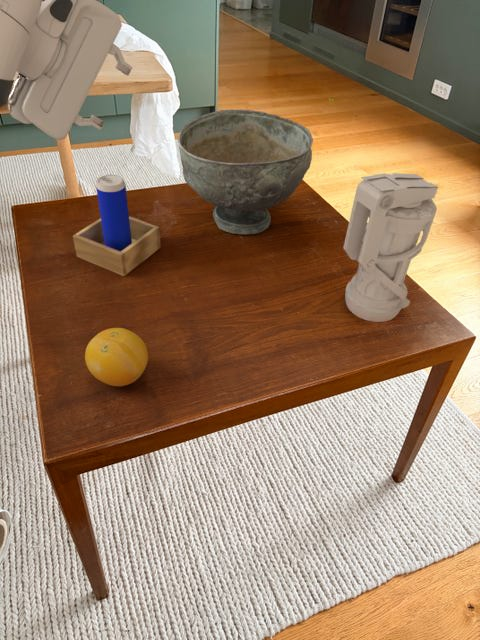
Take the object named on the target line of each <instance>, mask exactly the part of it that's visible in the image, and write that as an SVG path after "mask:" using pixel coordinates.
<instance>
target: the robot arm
mask: <svg viewBox="0 0 480 640" xmlns="http://www.w3.org/2000/svg"><path fill="white" fill-rule="evenodd" d="M122 27H123V24H122V21H121V18H120V16H119V14H117V13H116V12H115V11H113V10H112V9H110V7H108V6H106V5H104V4H103V3H101V2H99V1H98V0H0V109H1V108H3V107H6V106H7V111H8V113H9V115H10V116H11V118H13V119H14V120H16V121H17V122H20V123H22V124H24V125H34V126H35V127H37V128H38V129H39V130H41V131H42V132H43V133H44V134H46V135H48V136H49V137H51V138H53V139H55V140H56V141H60V140H65V139H67V136H68V135H69V133H70V131H71V129H72V126H73V124H75V125H76V126H78V127H91V126H93V127H94V128H96V129H97V130H98V131H101V130H102V127H103V126H104V124H105V121H104V120H102V119H101V118H99V117H97V116H96V115H95V114H90V117H88V118H86V117H82V116H81V115H79V113H80V110H81V109H82V107H83V106H84V105H83V104H84V102H85V100H86V98H87V96H88V95H89V93H90V91H91V89H92V87H93V85H94V82H95V80H96V79H97V77H98V75H99V73H100V70H101V69H102V66H103V65H104V63H105V61H106V59H107V57H108V55H111V56H114V59H115V61H116V63H117V64H116V66H115V69H116V70H118V71H120V73H122V74H124V75H125V76H129V75H130V74H131V72H132V69H133V66H131V64H129V63H127V61H125V58H124V56H123V53H122V52H121V49H120V47H118V46H117V45H116V44H115V41H116V39H117V37H118V35H119V33H120V31H121V29H122ZM17 73H18V75H17V76H16V74H17ZM15 76H16V79H15ZM14 79H15V80H14Z"/></svg>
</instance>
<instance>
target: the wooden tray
mask: <svg viewBox="0 0 480 640" xmlns="http://www.w3.org/2000/svg"><path fill="white" fill-rule="evenodd" d="M129 221H130V230H131V239H132V244H131V245H129V246H128V247H126V248H125V249H124V250H122V251H121V252H120V251H118V250H115V249H113V248H110V247H107V246H105V242H104V235H103V228H102V222H101V217H100V218H99V219H97V220H95V221H94V222H92V223H91V224H89V225H87V226H86V227H84V228H83V229H81V230H79V231H78V232H77V233H75V234H73V235H72V240H73V243H74V250H75V254H76V257H77V258H79V259H81V260H83V261H86V262H88V263H90V264H93V265H96V266H98V267H100V268H103V269H105V270H108V271H111V272H112V273H115V274H118V275H120V276H122V277H126V276H127V275H128V274H130V273H131V271H132V270H134V269H135V268H136V267H138V266H140V264H142V263H143V262H144V261H145V260H147V259H148V258H150V256H152V255H154V253H156V252H157V251H158V250H159V249H161V248H162V247H161V234H160V233H161V232H160V226H157V225H155V224H152V223H149V222H147V221H143V220H141V219H138V218H135V217H133V216H130V215H129Z"/></svg>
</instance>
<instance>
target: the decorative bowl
mask: <svg viewBox="0 0 480 640" xmlns="http://www.w3.org/2000/svg"><path fill="white" fill-rule="evenodd" d="M177 143H178V150H179V156H180V161H181V165H182V175H183V179H184V182H185V183H186V184H187V185H188V186H189V187H190V188H191V189H192V190H193V191H194V192H195V193H196V194H197V195H199V196H200V198H202V199H203V200H204V201H206V202H207V203H209V204H211V205H213V206H215V207H214V209H213V211H212V216H213V220H214V222H215V224H216V226H217V227H218V229H219V230H222V231H224V232H226V233H230V234H236V235H255V234H259V233H261V232H264V231H265V230H267V229H268V228H269V226H270V225H271V219H272V217H271V215H270V211H269V210H268V209H269V208H272V207H275V206H277V205H280V204H281V203H283V202H285V201H286V200H288V199H289V198H290V197H291V196H292V194H294V193H295V191H296V189H297V188H298V187H299V186H300V184H301V183H302V180H304V177H305V175H306V174H307V172H308V170H309V169H310V167H311V164H312V159H313V150H312V146H313V143H314V138H313V135H312V133H311V132H310V129H308V128H307V127H306V126H304V125H302V124H300V123H299V122H297V121H293V120H291V119H289V118H286V117H285V118H284V117H281V116H279V115H277V114H273V113H267V112H265V111H259V110H252V109H251V110H250V109H249V110H248V109H233V108H232V109H231V108H230V109H221V110H216V111H212V112H208V113H206V114H202V115H200V116H199V117H195V118H194V119H192V120H189V121H188V122H187V123H186V124H185V125H184V126H183V128H181V130H180V132H179V133H178V136H177Z"/></svg>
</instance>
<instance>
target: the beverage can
mask: <svg viewBox="0 0 480 640" xmlns="http://www.w3.org/2000/svg"><path fill="white" fill-rule="evenodd" d="M95 187H96V196H97V202H98V208H99V214H100V218H101V222H102V228H103V235H104V242H105V246H107V247H110V248H113V249H115V250H118V251H120V252H121V251H122V250H124V249H125V248H126V247H128V246H129V245H131V244H132V239H131V230H130V221H129V216H130V213H129V204H128V195H127V186H126V182H125V180H124V177H122V176H121V175H119V174H118V175H117V174H104V175H102V176H99V177H97V180H96V184H95Z"/></svg>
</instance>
